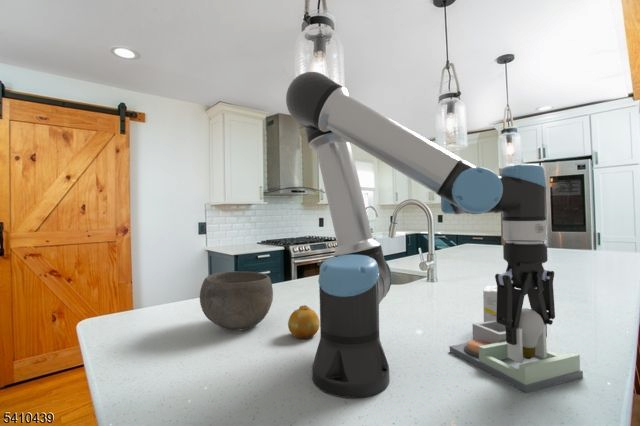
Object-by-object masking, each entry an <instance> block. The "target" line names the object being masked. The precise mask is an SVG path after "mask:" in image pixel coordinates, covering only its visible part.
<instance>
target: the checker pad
mask: <svg viewBox="0 0 640 426" xmlns="http://www.w3.org/2000/svg"><path fill="white" fill-rule="evenodd" d="M466 343H467V349H468V350H469V351H471V352H473V353H476V354H479V346H483V345H488V344H491V343H489V342H486V341H481V340H473V339H471V340H470V339H469V340H468V341H467V342H466Z"/></svg>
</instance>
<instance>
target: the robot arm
mask: <svg viewBox="0 0 640 426" xmlns="http://www.w3.org/2000/svg"><path fill="white" fill-rule="evenodd" d="M285 102H286V103H285V104H286V108H287V111H288V113H289V114H290V116H291V117H292V119H293V120H294V121H296V122H297V123H298V124H300V125H301V126H302V127H304V130H305V135H306V139H307V145H308V147H309V149H312V150H313V151H314V152H316V154H317V159H318V164H319V168H320V174H321V177H322V181H323V186H324V191H325V195H326V200H327V203H328V208H329V212H330V213H329V214H330V217H331V223H332V226H333V230H334V235H335V239H336V243H337V248H336V250H335V251H334V253H333V256H332V257H329V258H327V259H325V260H324V261H322V263H321V264H320V267H319V276H318V280H317V281H318V285H319V286H318V288H319V290H318V291H319V329H320V332H319V333H320V338H319V342H318V345H317V348H316V353H315V355H314V358H313V361H312V365H311V371H312V372H311V374H312V375H311V377H312V378H311V379H312V382H313V384H314V385H315V387H317V388H318V389H319V390H320V391H323V392H325V393H327V394H330V395H333V396H336V397H342V398H364V397H371V396H373V395H376V394H378V393H379V394H380V392H382V391H384V390H385V389H386V388H387V387H388V385H389V384H390V365H389V363H388V360H387V357H386V354H385V352H384V348H383V346H382V342H381V338H380V337H381V336H380V303H381V302H382V301H383V300H384V298H385V297H386V296H387V295H388V293H389V292H390V290H391V286H392V280H393V278H392V276H393V275H392V271H391V268H390V266H389V264H388V262H387V261H386V260H385V255H384V253H383V249H382V244H381V243H380V242H378V241H377V240H376V239H374V238H373V234H372V230H371V229H372V228H371V225H370V221H369V217H368V214H367V207H366V204H365V201H364V197H363V192H362V186H361V183H360V178H359V175H358V170H357V167H356V162H355V157H354V153H353V149H352V145H354V146H356V147H358V148H359V149H361V150H363V151H364V152H366V153H367V154H369V155H371V156H372V157H374V158H376V159H378V160H379V161H381V162H383V164H386V165H387V166H389V167H391V168H392V169H394V170H396V171H397V172H399V173H401V174H403V176H406V177H408V178H409V179H411V180H413V181H414V182H416V183H418V184H419V185H421V186H423V187H424V188H426V189H428V190H429V191H430V192H432V193H434V194H436V195H438V196H439V197H440V209H441V212H442V213H443V214H445V215H446V214H448V215H449V214H450V215H461V214H465V215H466V214H467V215H468V214H470V215H481V214H502V239H503V240H504V241H505V242H504V243H503V244H502V248H503V251H502V252H503V254H502V255H503V260H504V261H506V262H507V267H506V269H505V272H503V273H495V275H494V279H495V283H496V286H497V319H496V321H497V323H499V324H502V325H504V326H505V327H506V342H507V346H508V358H510V359H512V360H514V361H516V362H519V363H523V345H522V329H521V328H518V327H519V322H520V317H521V312H522V308H523V305H524V300H525V296H526V295H527V298H528V302H529V307H530V309H531V310H533V311H535V312H536V313H538V314H539V315H540V316H541V318H542V320H543V322H544V331H543V333H542V334H541V336H540V337H539V338H538V341H537V345H536V346H535V354H536V355H539V356H541V357H544V358H545V357H547V337H548V334H547V333H548V331H547V330H548V327H547V326H548V325H550V326H552V325H553V323H554V321H553V320H554V319H555V318H556V312H555V310H556V309H555V295H554V294H555V293H554V278H555V272H554V271H553V270H549V269H548V270H547V269H544V266H543V264H545V263H547V262H548V261H549V260H548V245H547V244H546V243H544V242H545V241H547V238H548V236H547V183H546V173H545V169H544V166H542V165H540V164H535V163H529V164H528V163H525V164H524V163H523V164H522V163H521V164H514V165H513V164H512V165H509V166H505V167H503V168H502V169H501V172H500V173H501V174H500V175H499V176H498V174H497V173H495V171H493V170H491V169H489V168H486V167H480V166H479V167H478V166H475V164H472V163H470V162H468V161H467V160H464V159H463V158H461V157H459V156H457V155H456V154H454V153H452V152H450V151H449V150H446V148H443V147H442V146H440V145H438V144H436V143H434V142H432V141H430V140H429V139H427V138H425V137H423V136H421V135H420V134H418V133H416V132H415V131H412V130H410V129H408V128H407V127H405V126H403V125H401V124H400V123H398V122H397V121H394V120H393V119H391V118H390V117H387V116H386V115H384V114H382V113H380V112H378V111H377V110H375V109H373V108H370V107H369V106H368V105H365V104H364V103H362V102H360V101H358V100H356V99H355V98H352V97H351V96H350V95H349V91H348V89H347V88H346V87H344V86H342V85H340V84H339V83H337V82H336V81H334V80H332V79H331V78H329V77H328V76H326V74H324V73H321V72H317V71H307V72H304V73H301V74H299V75H298V76H296V77H295V78H294V79H293V80H291V83H290V84H289V85H288V88H287V89H286V95H285ZM351 144H352V145H351ZM515 288H518V289H515ZM512 320H513V321H512Z"/></svg>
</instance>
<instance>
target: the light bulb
mask: <svg viewBox="0 0 640 426" xmlns="http://www.w3.org/2000/svg"><path fill="white" fill-rule="evenodd" d="M512 321H513V320H512ZM518 328H521V329H522V345H523V357H524V358H526V359H531V358H532V357H535V346H536V345H537V341H538V338H539V337H540V336H541V334H542V333H543V331H544V322H543V320H542V318H541V316H540V315H539V314H538V313H536V312H535V311H533V310H531V308H527V307H525V308H524V307H522V312H521V317H520V322H519V327H518Z"/></svg>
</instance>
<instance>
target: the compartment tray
mask: <svg viewBox="0 0 640 426" xmlns="http://www.w3.org/2000/svg"><path fill="white" fill-rule="evenodd" d="M472 340H481V341H486V342H489V343H491V344H488V345H483V346H479V354H476V353H473V352H471V351H469V350H468V349H467V342H465V343H460V344H456V345H455V344H454V345H449V352H450V353H452V354H453V355H455V356H456V357H457V356H458V357H459V358H461V359H463V360H465V361H467V362H469V363H471V365H474V366H476V367H478V368H480V369H481V370H483V371H485V372H487V373H489V374H491V375H493V376H495V377H497V378H498V379H500V380H502V381H503V382H506V383H507V384H509V385H511V386H513V387H515V388H517V389H518V390H520V391H522V392H523V393H530V392H533V391H537V390H542V389H545V388H550V387H553V386H557V385H559V384H563V383H567V382H570V381H575V380H578V379H582V378H584V372H583V370H581V359H580V358H581V357H580V354H579V353H578V354H577V353H575V352H571V353H565V354H562V355H560V354H557V353H556V352H553V351H550V350H547V357H545V358H544V357H541V356H539V355H536V354H535V357H532V358H531V359H526V358H524V357H523V363H519V362H516V361H514V360H512V359H510V358H508V346H507V342H506V327H505V326H504V325H502V324H499V323H497V321H496V320H493V321H487V322H484V321H481V322H477V323H476V322H475V323H472Z"/></svg>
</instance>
